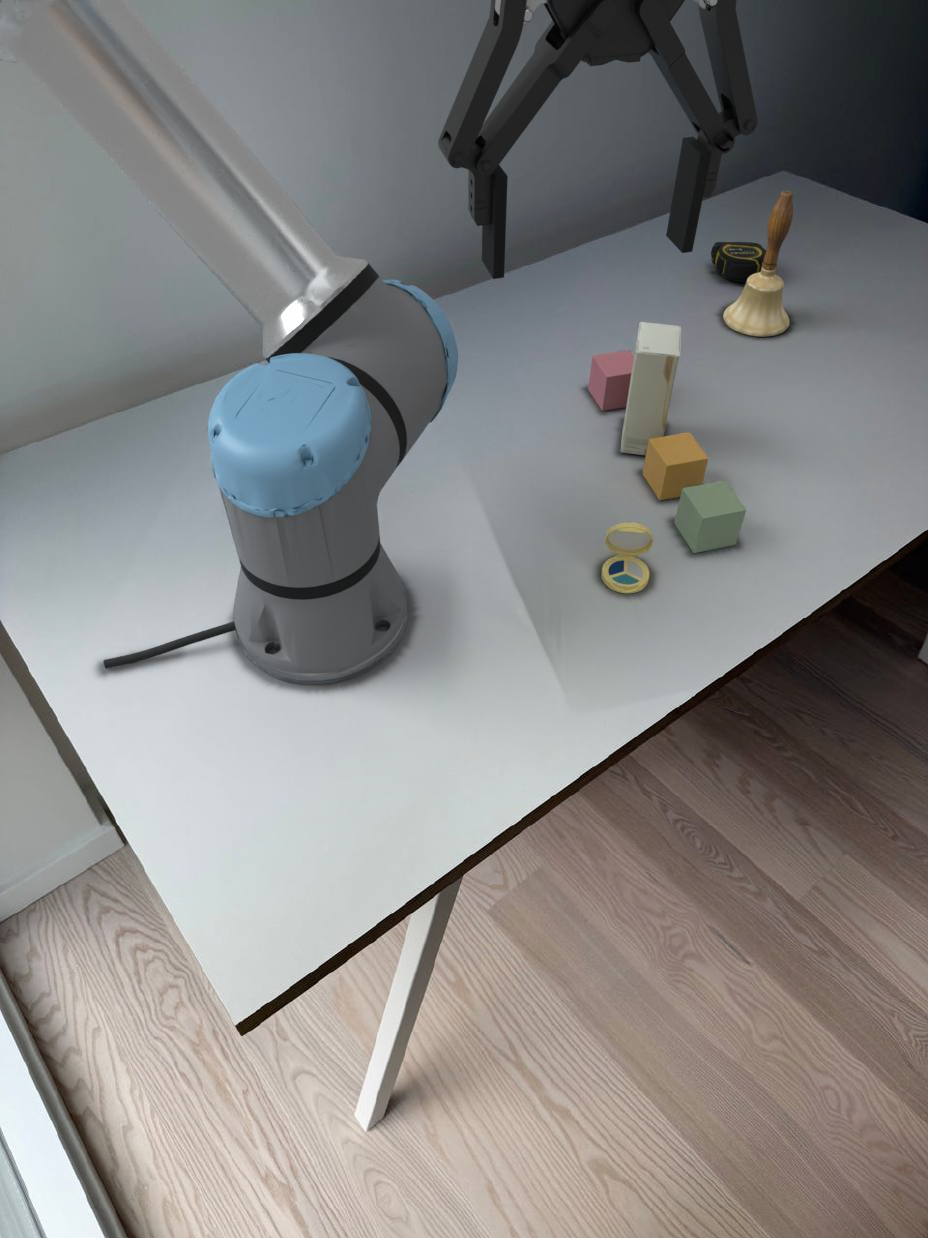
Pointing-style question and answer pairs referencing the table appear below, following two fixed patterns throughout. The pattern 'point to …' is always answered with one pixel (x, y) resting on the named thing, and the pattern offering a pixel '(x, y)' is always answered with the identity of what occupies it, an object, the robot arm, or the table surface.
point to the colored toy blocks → (674, 466)
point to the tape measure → (737, 259)
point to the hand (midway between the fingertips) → (587, 256)
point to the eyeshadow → (627, 557)
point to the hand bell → (765, 282)
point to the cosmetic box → (650, 385)
